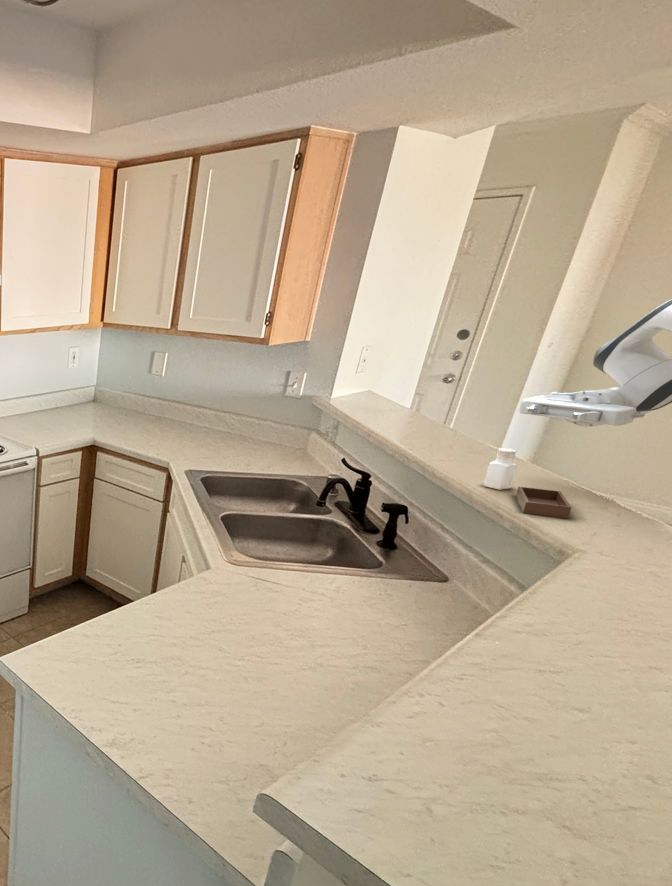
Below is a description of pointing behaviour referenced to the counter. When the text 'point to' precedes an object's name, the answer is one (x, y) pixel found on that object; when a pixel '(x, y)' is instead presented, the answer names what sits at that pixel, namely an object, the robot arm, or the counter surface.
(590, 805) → the counter surface
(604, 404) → the robot arm
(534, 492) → the tray
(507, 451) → the pepper shaker
